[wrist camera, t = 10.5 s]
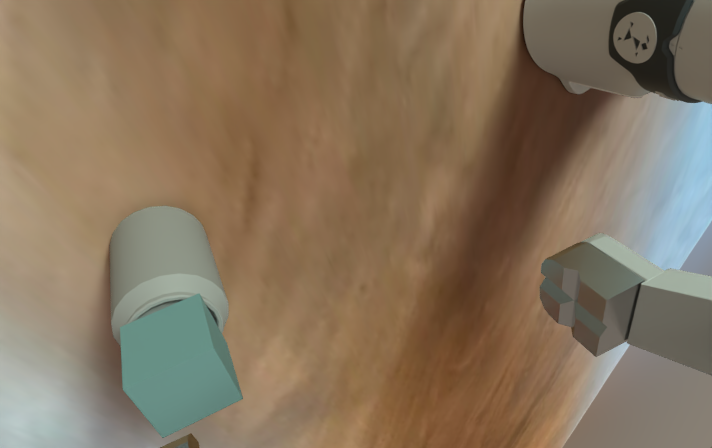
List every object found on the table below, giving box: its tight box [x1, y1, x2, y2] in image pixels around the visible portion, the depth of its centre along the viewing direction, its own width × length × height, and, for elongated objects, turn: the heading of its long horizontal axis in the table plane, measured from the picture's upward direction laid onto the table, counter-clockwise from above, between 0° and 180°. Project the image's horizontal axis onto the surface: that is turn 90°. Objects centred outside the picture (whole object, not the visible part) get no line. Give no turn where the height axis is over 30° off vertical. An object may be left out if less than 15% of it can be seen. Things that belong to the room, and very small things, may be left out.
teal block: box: [120, 293, 243, 438], centre depth 30 cm, size 5×5×5 cm
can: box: [110, 206, 228, 347], centre depth 36 cm, size 8×8×12 cm
